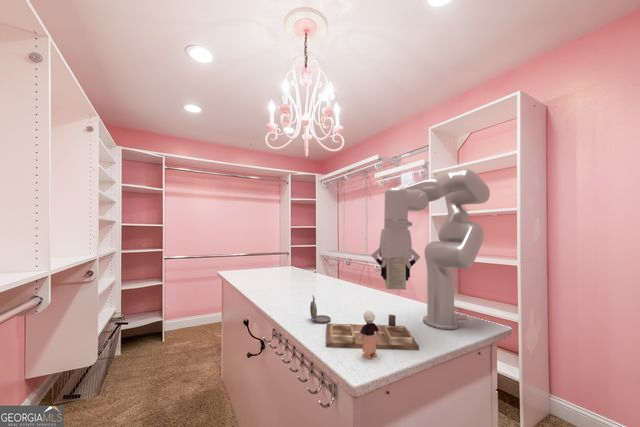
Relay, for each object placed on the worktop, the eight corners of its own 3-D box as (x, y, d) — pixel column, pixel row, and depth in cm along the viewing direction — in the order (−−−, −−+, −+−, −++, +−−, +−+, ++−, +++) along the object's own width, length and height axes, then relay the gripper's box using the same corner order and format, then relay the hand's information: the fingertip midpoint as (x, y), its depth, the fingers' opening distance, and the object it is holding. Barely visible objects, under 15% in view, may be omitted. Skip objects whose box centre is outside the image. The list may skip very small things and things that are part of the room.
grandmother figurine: (371, 349, 79) (371, 306, 80) (381, 354, 76) (382, 309, 77) (354, 357, 74) (355, 311, 74) (365, 363, 71) (366, 315, 72)
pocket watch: (333, 320, 103) (334, 294, 103) (320, 326, 96) (320, 298, 97) (318, 315, 108) (318, 290, 109) (303, 321, 102) (304, 294, 102)
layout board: (403, 329, 95) (403, 313, 96) (419, 350, 79) (419, 330, 80) (326, 326, 96) (326, 311, 96) (326, 347, 80) (326, 327, 80)
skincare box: (403, 287, 89) (404, 251, 89) (406, 290, 85) (406, 252, 85) (384, 286, 90) (384, 250, 90) (385, 289, 85) (386, 251, 86)
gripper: (418, 226, 91) (418, 278, 90) (368, 224, 92) (367, 276, 92) (426, 225, 84) (425, 282, 83) (371, 224, 85) (370, 280, 84)
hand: (395, 278), depth 87 cm, fingers closed on skincare box, 6 cm apart
